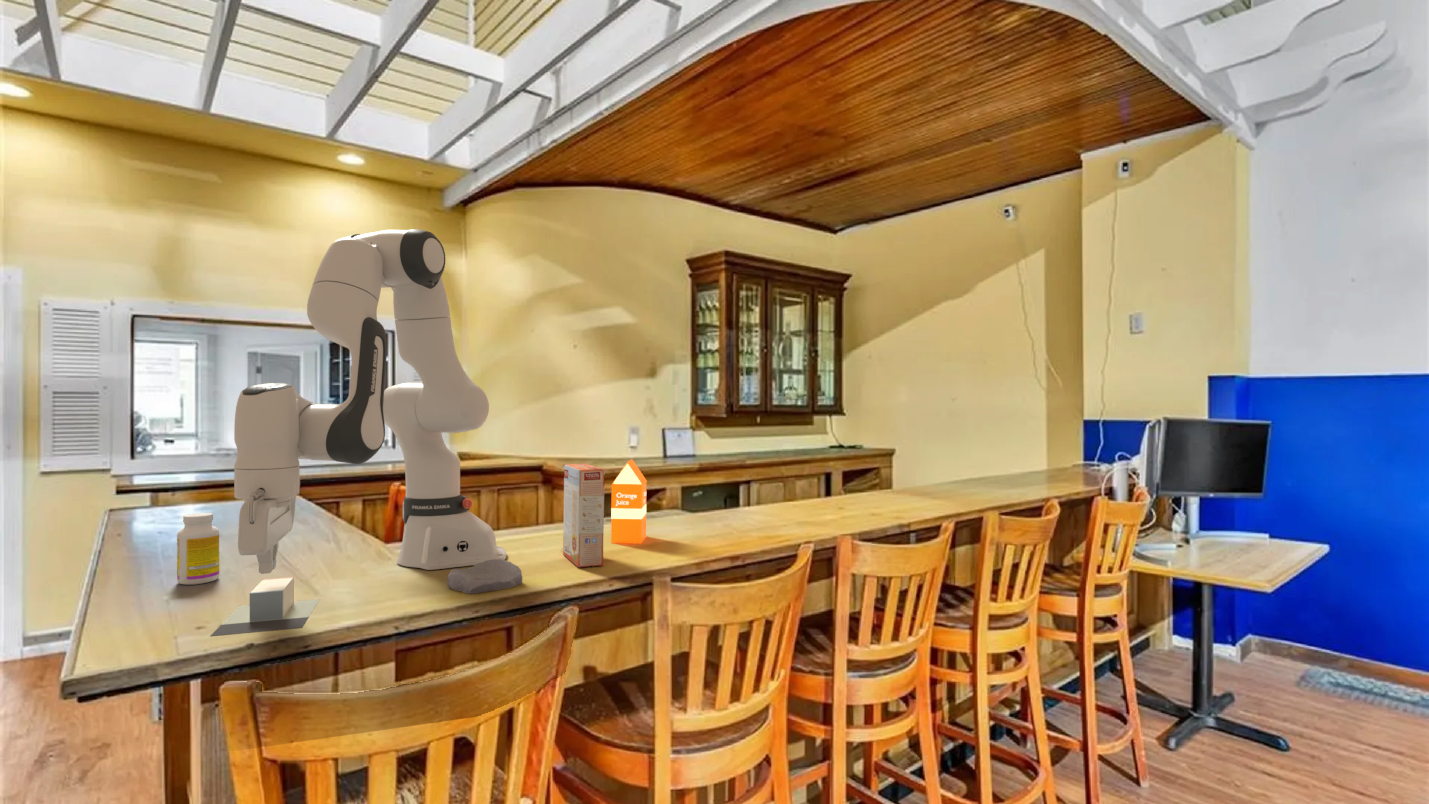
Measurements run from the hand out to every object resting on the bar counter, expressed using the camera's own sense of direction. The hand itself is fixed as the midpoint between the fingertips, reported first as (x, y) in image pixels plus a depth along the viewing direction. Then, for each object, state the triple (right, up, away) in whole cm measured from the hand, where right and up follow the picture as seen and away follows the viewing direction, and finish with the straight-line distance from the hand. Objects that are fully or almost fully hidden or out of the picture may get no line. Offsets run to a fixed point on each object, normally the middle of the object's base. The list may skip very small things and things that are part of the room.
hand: (267, 571), depth 114 cm
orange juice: (+50, -8, +67) cm, 84 cm away
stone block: (+28, -9, +22) cm, 37 cm away
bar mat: (-1, -8, +1) cm, 8 cm away
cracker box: (+42, -8, +44) cm, 61 cm away
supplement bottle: (-28, -8, +24) cm, 38 cm away
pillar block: (0, -5, -1) cm, 5 cm away
